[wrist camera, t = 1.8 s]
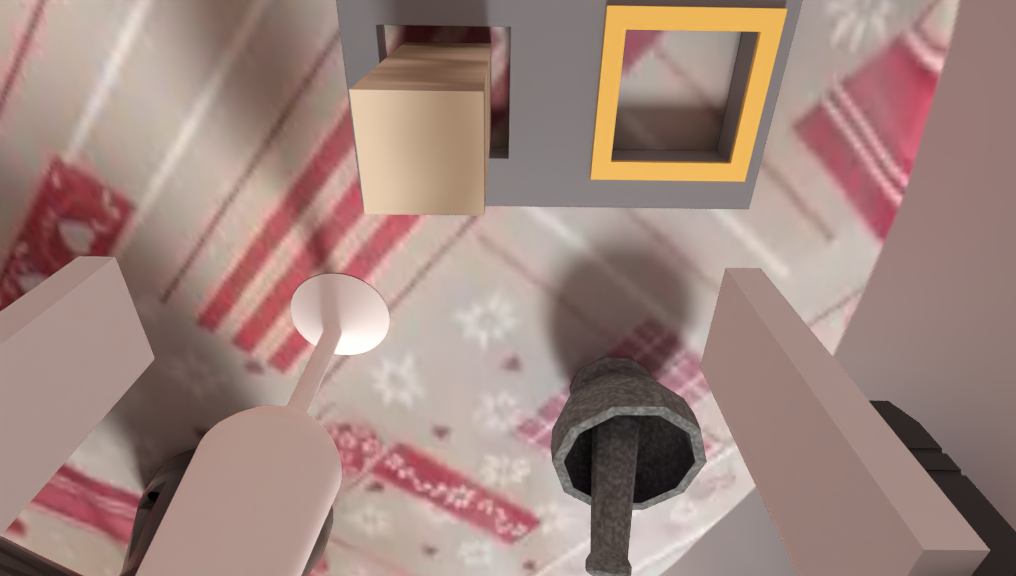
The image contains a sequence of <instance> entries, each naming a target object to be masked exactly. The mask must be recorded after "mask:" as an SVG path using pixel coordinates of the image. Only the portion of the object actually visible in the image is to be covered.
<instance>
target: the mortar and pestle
mask: <svg viewBox="0 0 1016 576" xmlns="http://www.w3.org/2000/svg"><path fill="white" fill-rule="evenodd" d="M570 394H571V395H570V397H569V398H568V400H567V402H566V404H565V406H564V408H563V410H562V412H561V414H560V416H559V418H558V420H557V422H556V423H555V425H554V427H553V431H552V440H551V453H552V462H553V465H554V467H555V470H556V472H557V475H558V477H559V480H560V482H561V485H562V488H563V490H564V492H565V493H567V494H569V495H571V496H573V497H575V498H577V499H579V500H581V501H583V502H585V503H587V504H589V505H591V553H590V554H589V556H588V557H587V559H586V567H585V568H586V571H587V572H588V573H589V574H591V575H593V576H631V568H632V567H631V565H630V563H629V561H628V549H629V538H630V528H631V517H632V510H644V509H646V508H648V507H651V506H653V505H655V504H658V503H660V502H662V501H665V500H667V499H669V498H672V497H674V496H676V495H679V494H681V493H683V492H684V491H685V490H686V489H687V487H688V486H689V485H690V483H691V482H692V481H693V479H694V478H695V477H696V475H697V474H698V473H699V471H700V470H701V469H702V467H703V466H704V465H705V463H706V462H707V461H706V456H705V451H704V445H703V440H702V435H701V429H700V427H699V424H698V422H697V419H696V417H695V415H694V413H693V411H692V410H691V408H690V407H689V405H688V404H687V403H686V401H685V400H684V398H682V397H680V396H679V395H677V394H676V393H674V392H673V391H671V390H669V389H668V388H666V387H665V386H663V385H661V384H660V383H658V382H657V381H655V380H654V379H652V378H651V376H650V372H649V370H648V369H646V368H645V367H643V366H642V365H640V364H638V363H637V362H635V361H634V360H632V359H631V358H601V359H599V360H597V361H595V362H593V363H591V364H590V365H588V366H586V367H584V368H582V369H580V370H579V372H578V374H577V376H576V377H575V379H574V381H573V383H572V385H571V387H570Z"/></svg>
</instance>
